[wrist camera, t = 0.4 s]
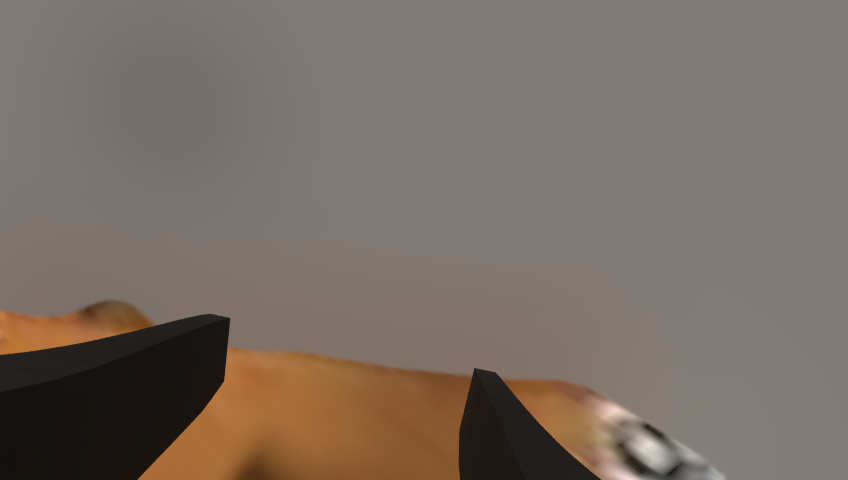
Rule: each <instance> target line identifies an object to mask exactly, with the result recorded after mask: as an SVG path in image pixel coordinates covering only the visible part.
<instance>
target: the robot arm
mask: <svg viewBox="0 0 848 480" xmlns="http://www.w3.org/2000/svg"><path fill="white" fill-rule="evenodd" d="M229 325H230V318H228V317H223V316H218V315H213V314H205V315H199V316H194V317H189V318H185V319H181V320H177V321H173V322H169V323H165V324H161V325H157V326H153V327H149V328H145V329H141V330H137V331H133V332H129V333H125V334H120V335H116V336H111V337H107V338H103V339H98V340H94V341H89V342H84V343H79V344H74V345H68V346H63V347H56V348H50V349H44V350H38V351H30V352H23V353H14V354H5V355H0V480H137V479H138V478H139V477H140V476H141V475H142V474H143V473H144V472H145V471H146V470H147V469H148V468H149V467H150V466H151V465H152V464H153V463H154V462H155V461H156V459H157V458H158V457H159V456H160V455H161V454H162V453H163V452H164V451H165V450H166V449H167V448H168V447H169V446H170V445H171V444H172V443H173V442H174V441H175V440H176V439H177V438H178V437H179V435H180V434H181V433H182V432H183V431H184V430H185V429H186V428H187V427H188V426H189V425H190V424H191V423H192V422H193V421H194V420H195V418H196V417H197V416H198V415H199V414H200V413H201V412H202V411H203V410H204V408H205V407H206V406H207V404H208V403H209V402H210V400H211V399H212V398H213V396H214V395H215V393H216V392H217V390H218V389H219V388H220V386H221V385H222V383H223V382H224V376H225V366H226V356H227V346H228V336H229ZM459 472H460V480H601V479H600V478H598V477H597V476H596V475H595V474H593V473H592V472H591V471H590V470H588V469H587V468H586V467H585V466H584V465H582V464H581V463H580V462H579V461H578V460H577V459H576V458H574V457H573V456H572V455H571V454H570V453H569V452H568V451H566V450H565V449H564V448H563V447H562V446H561V445H560V444H559V443H558V442H557V441H556V440H555V439H554V438H553V437H552V436H551V435H550V434H549V433H548V432H547V431H546V430H545V429H544V428H543V427H542V426H541V425H540V424H539V423H538V422H537V420H536V419H535V418H534V417H533V416H532V415H531V414H530V413H529V412H528V410H527V409H526V408H525V407H524V406H523V405H522V403H521V402H520V401H519V400H518V399H517V397H516V396H515V395H514V394H513V393H512V391H511V390H510V389H509V388H508V386H507V385H506V384H505V383H504V382H503V380H502V379H501V378H500V377H499V376H498V375H497V374H496V373H495V372H491V371H486V370H481V369H476V368H475V369H474V372H473V377H472V381H471V385H470V389H469V393H468V397H467V401H466V405H465V409H464V414H463V418H462V422H461V426H460V431H459Z"/></svg>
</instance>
